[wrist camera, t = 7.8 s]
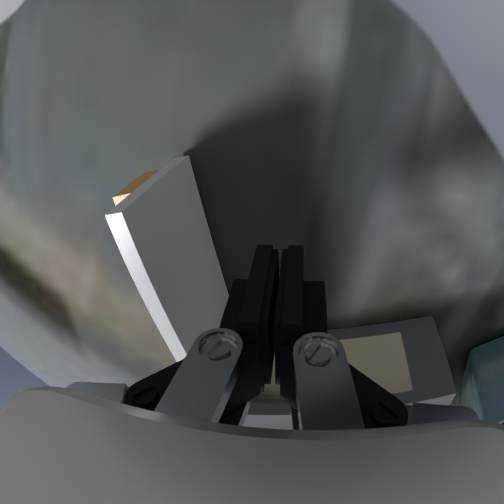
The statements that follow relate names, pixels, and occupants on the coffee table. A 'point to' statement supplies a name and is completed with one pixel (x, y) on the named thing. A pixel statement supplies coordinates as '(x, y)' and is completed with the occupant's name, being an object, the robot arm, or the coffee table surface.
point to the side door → (170, 253)
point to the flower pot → (485, 381)
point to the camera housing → (378, 368)
